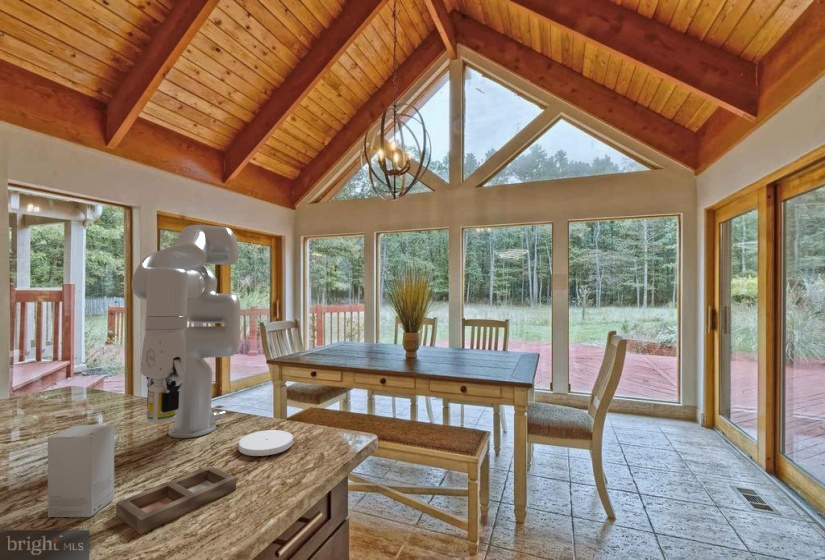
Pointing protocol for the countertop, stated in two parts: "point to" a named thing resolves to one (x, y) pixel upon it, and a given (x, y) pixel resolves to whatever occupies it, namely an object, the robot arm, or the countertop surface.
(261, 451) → the plastic lid
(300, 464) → the countertop surface
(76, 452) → the skincare box
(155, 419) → the supplement bottle
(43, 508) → the countertop surface
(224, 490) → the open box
